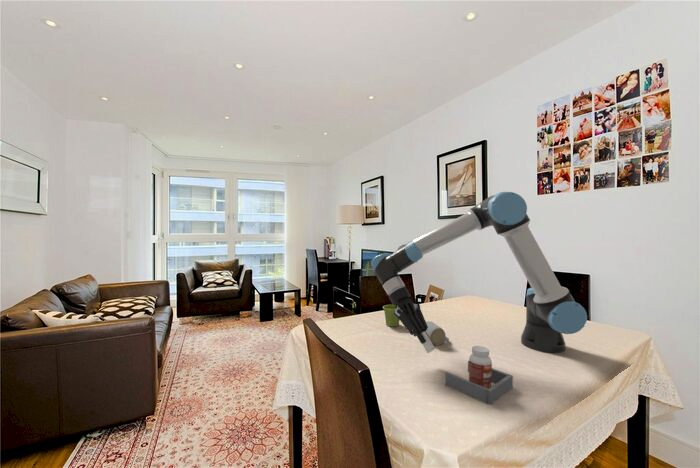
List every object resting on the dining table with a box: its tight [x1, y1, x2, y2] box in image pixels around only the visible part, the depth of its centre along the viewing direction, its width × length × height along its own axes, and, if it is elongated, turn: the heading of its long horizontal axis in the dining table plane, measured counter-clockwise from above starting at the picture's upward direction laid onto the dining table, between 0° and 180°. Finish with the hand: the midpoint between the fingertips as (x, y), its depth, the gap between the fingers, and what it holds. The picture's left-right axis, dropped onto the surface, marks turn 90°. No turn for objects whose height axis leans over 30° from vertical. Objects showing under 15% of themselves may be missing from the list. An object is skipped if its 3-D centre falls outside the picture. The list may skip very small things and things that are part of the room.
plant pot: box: [382, 304, 401, 327], centre depth 149 cm, size 9×9×9 cm
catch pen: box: [444, 360, 514, 405], centre depth 91 cm, size 14×14×4 cm
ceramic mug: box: [426, 320, 450, 346], centre depth 127 cm, size 11×8×8 cm
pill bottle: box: [468, 345, 493, 389], centre depth 92 cm, size 6×6×11 cm
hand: (431, 351), depth 105 cm, fingers closed
